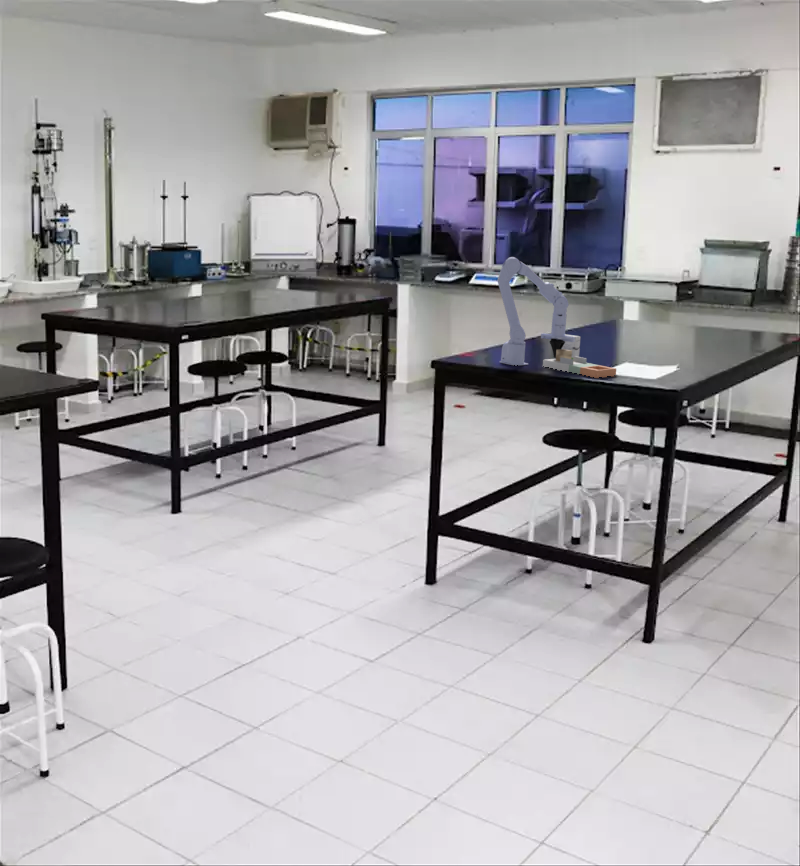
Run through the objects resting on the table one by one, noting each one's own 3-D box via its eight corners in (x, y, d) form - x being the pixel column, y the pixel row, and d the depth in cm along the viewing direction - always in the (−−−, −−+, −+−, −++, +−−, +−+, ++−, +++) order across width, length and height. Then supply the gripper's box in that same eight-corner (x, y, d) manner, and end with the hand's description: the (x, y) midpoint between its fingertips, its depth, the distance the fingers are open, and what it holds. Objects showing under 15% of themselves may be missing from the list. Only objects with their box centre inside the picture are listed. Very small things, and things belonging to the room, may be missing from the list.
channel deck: (542, 366, 423) (543, 354, 422) (562, 365, 430) (562, 353, 429) (596, 378, 402) (597, 365, 401) (615, 375, 409) (616, 363, 408)
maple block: (555, 360, 422) (556, 349, 421) (563, 359, 425) (563, 349, 424) (563, 362, 418) (564, 351, 417) (571, 361, 421) (572, 350, 420)
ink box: (579, 363, 438) (581, 335, 435) (573, 364, 434) (576, 336, 431) (561, 360, 443) (563, 333, 440) (555, 361, 439) (558, 334, 436)
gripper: (538, 323, 422) (536, 356, 425) (570, 327, 414) (567, 360, 417) (546, 322, 428) (543, 354, 431) (578, 326, 420) (575, 358, 423)
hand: (556, 357), depth 425 cm, fingers closed
